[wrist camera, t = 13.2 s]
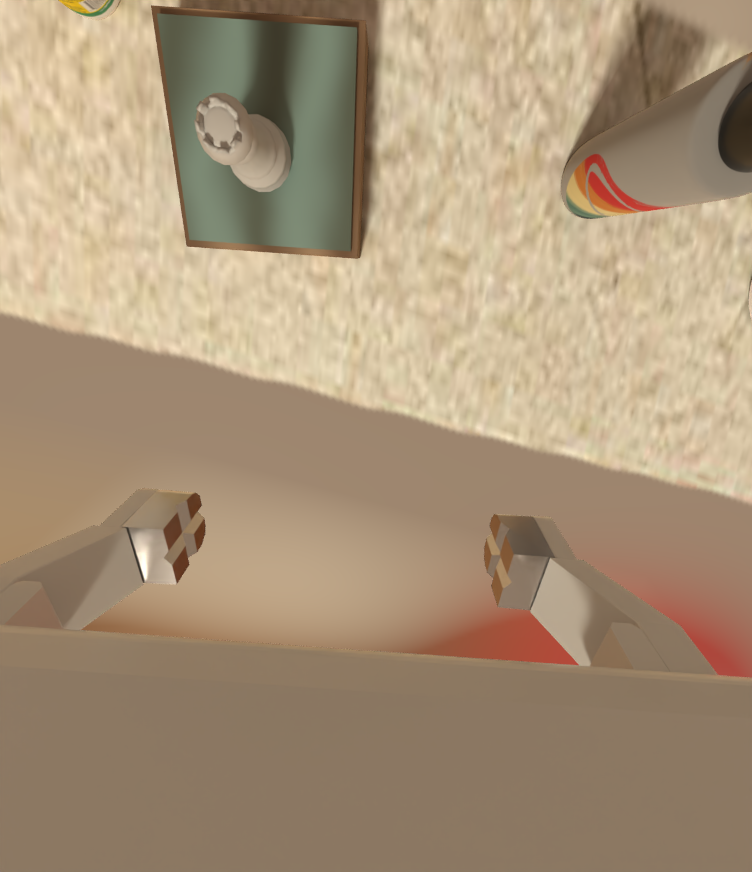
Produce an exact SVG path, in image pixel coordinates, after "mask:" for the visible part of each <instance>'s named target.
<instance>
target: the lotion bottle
mask: <svg viewBox="0 0 752 872" xmlns="http://www.w3.org/2000/svg"><path fill="white" fill-rule="evenodd" d="M751 192H752V52H751V53H749V54H747V55H745V56H743V57H741V58H739V59H737V60H735V61H733V62H731V63H729V64H727V65H725V66H724V67H722V68H720V69H718V70H716V71H714V72H713V73H711V74H709V75H707V76H705V77H703V78H701V79H700V80H698V81H696V82H694V83H692V84H691V85H689V86H687V87H685V88H683V89H681V90H680V91H678V92H676V93H674V94H672V95H670V96H669V97H667V98H665V99H663V100H661V101H659V102H658V103H656V104H654V105H652V106H650V107H648V108H647V109H645V110H643V111H641V112H639V113H637V114H636V115H634V116H632V117H630V118H628V119H626V120H625V121H623V122H621V123H619V124H617V125H615V126H614V127H612V128H610V129H608V130H606V131H604V132H603V133H601V134H599V135H597V136H596V137H594V138H592V139H591V140H589V141H588V142H586V143H585V144H583V145H582V146H581V147H580V148H579V149H578V150H577V151H576V152H575V153H574V154H573V156H572V157H571V158H570V160H569V162H568V163H567V165H566V167H565V170H564V173H563V176H562V181H561V195H562V199H563V202H564V204H565V206H566V208H567V209H568V210H569V211H570V212H571V213H572V214H574V215H576V216H578V217H581V218H586V219H593V218H603V217H610V216H617V215H624V214H631V213H638V212H644V211H651V210H658V209H665V208H672V207H679V206H686V205H692V204H699V203H706V202H713V201H719V200H725V199H730V198H735V197H739V196H743V195H746V194H748V193H751Z"/></svg>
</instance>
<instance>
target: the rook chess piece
mask: <svg viewBox="0 0 752 872" xmlns="http://www.w3.org/2000/svg"><path fill="white" fill-rule="evenodd" d="M196 110H197V115H196V120H194V123H195V128H196V132H197V136H198V139H199V141H200V143H201V145H202V147H203V149H204V151H205V152H206V153H207V154H208V155H209V156H210V157H211V158H212V159H213V160H215V161H217V162H219V163H221V164H223V165H230V166H231V168H232V170H233V172H234V174H235V175H236V176H237V177H238V178H239V179H240V181H241V182H242V183H243V184H245V185H246V186H247V187H249V188H251V189H254V190H256V191H258V192H271V191H273V190H275V189H277V188H278V187H280V186H281V185H282V184H283V182H284V181H285V180H286V178H287V177H288V174H289V170H290V166H291V155H290V147H289V145H288V142H287V140H286V138H285V135H284V133H283V132H282V131H281V130H280V129H279V128H278V127H277V125H276V124H275V123H273V122H271V121H270V120H269V119H267V118H265V117H263V116H261V115H259V114H248V113H247V111H246V109H245V108H244V107H243V105H242V104H241V103H240V102H239V101H238V100H237V99H236V98H234V97H232V96H230V95H228V94H226V93H213V94H211V95H208V97H206V98H205V99H203V101H201V100H200V102H199V104H198V105H197V107H196Z"/></svg>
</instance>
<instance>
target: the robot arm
mask: <svg viewBox="0 0 752 872" xmlns="http://www.w3.org/2000/svg"><path fill="white" fill-rule="evenodd" d="M749 311H750V316H751V319H752V282H751V286H750V291H749ZM201 506H202V504H201V499H200V495H198V494H197V493H193V492H182V491H172V490H158V489H146V488H142V489H138V490H137V491H136V492H135V493H133V495H132V496H130V497H129V498H128V499H127V500H126V501H125V502H124V503H123V504H122V505H121V506H120V507H119V508H118V509H117V510H115V511H114V513H112V515H110V516H109V517H108V518H107V519H106V520H105V521H104V522H103V523H102V524H101V525H100V526H91V527H88V528H86V529H84V530H81V531H79V532H77V533H74V534H72V535H70V536H67V537H65V538H62V539H60V540H58V541H55V542H53V543H51V544H49V545H46V546H44V547H41V548H39V549H36V550H34V551H32V552H30V553H27V554H25V555H22V556H20V557H18V558H15V559H13V560H11V561H8V562H6V563H3V564H1V565H0V872H752V678H748V677H734V676H720V675H718V674H717V673H716V672H715V670H714V669H713V668H712V666H711V665H710V664H709V663H708V661H707V660H706V659H705V657H704V656H703V655H702V654H701V652H700V651H699V650H698V648H697V647H696V646H695V644H694V643H693V642H692V641H691V639H690V638H689V637H688V635H687V634H686V633H685V631H684V630H683V629H682V627H681V626H680V625H678V624H677V623H675V622H674V621H672V620H671V619H669V618H668V617H666V616H665V615H664V614H662V613H661V612H659V611H657V610H656V609H655V608H653V607H652V606H650V605H648V604H647V603H646V602H644V601H643V600H641V599H640V598H638V597H637V596H635V595H634V594H633V593H631V592H630V591H628V590H627V589H625V588H624V587H622V586H621V585H619V584H618V583H616V582H615V581H613V580H612V579H610V578H609V577H607V576H606V575H604V574H603V573H602V572H600V571H599V570H597V569H596V568H594V567H593V566H591V565H590V564H588V563H587V562H585V561H584V560H577V558H576V557H575V555H574V554H573V552H572V550H571V548H570V547H569V545H568V544H567V542H566V540H565V539H564V537H563V536H562V534H561V532H560V530H559V529H558V528H557V526H556V524H555V522H554V521H553V519H552V518H550V517H548V516H517V515H501V514H494V515H493V517H492V518H491V522H490V529H491V531H492V534H491V535H489V536H488V537H487V538H486V542H485V546H484V561H485V567H486V570H487V573H488V574H489V575H490V576H491V577H493V581H492V585H491V587H492V590H493V593H494V597H495V600H496V603H497V606H498V607H503V608H513V609H523V610H531V611H530V612H531V613H532V614H533V615H534V616H535V617H536V618H537V620H538V621H540V623H541V624H542V625H543V626H544V627H545V628H546V629H547V630H548V631H549V632H550V634H551V635H552V636H553V637H554V638H555V639H556V640H557V641H558V642H559V643H560V644H561V646H562V647H563V648H564V649H565V650H566V651H567V652H568V653H569V654H570V655H571V656H572V657H573V659H574V660H575V661H576V662H577V663H578V664H579V665H580V666H578V665H565V664H550V663H536V662H522V661H521V662H520V661H508V660H493V659H479V658H465V657H451V656H436V655H423V654H410V653H395V652H381V651H368V650H353V649H339V648H324V647H311V646H297V645H283V644H269V643H254V642H240V641H226V640H212V639H197V638H183V637H168V636H155V635H141V634H127V633H112V632H98V631H85V630H81V629H82V628H84V627H85V626H86V625H88V624H89V623H91V622H92V621H93V620H95V619H96V618H98V617H99V616H100V615H102V614H103V613H104V612H106V611H107V610H109V609H110V608H112V607H113V606H114V605H116V604H117V603H118V602H120V601H121V600H123V599H124V598H125V597H127V596H128V595H130V594H131V593H133V592H134V591H135V590H137V589H138V588H139V587H141V586H142V585H143V583H159V584H177V583H178V582H179V580H180V578H181V577H182V575H183V574H184V572H185V571H186V569H187V567H188V566H189V560H188V557H190V556H192V555H193V554H195V553H196V552H198V550H199V548H200V547H201V545H202V543H203V539H204V536H205V527H206V526H205V519H204V517H203V516H202V515H201V514H200V513H199V512H198V510H199V509H200V507H201Z"/></svg>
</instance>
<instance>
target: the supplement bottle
mask: <svg viewBox="0 0 752 872" xmlns="http://www.w3.org/2000/svg"><path fill="white" fill-rule="evenodd" d="M59 1H60V2H61V3H63V4H64V5H65V6H66V7H68V8H69V9H71V10H72V11H73V12H75V13H76V14H78V15H80V16H82V17H84V18H88V19H92V20H100V19H104V18H106V17H108V16H110V15H111V14H112V13H113V12H114V11H115V10H116V8H117V6H118V4H119V2H120V0H59Z"/></svg>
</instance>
